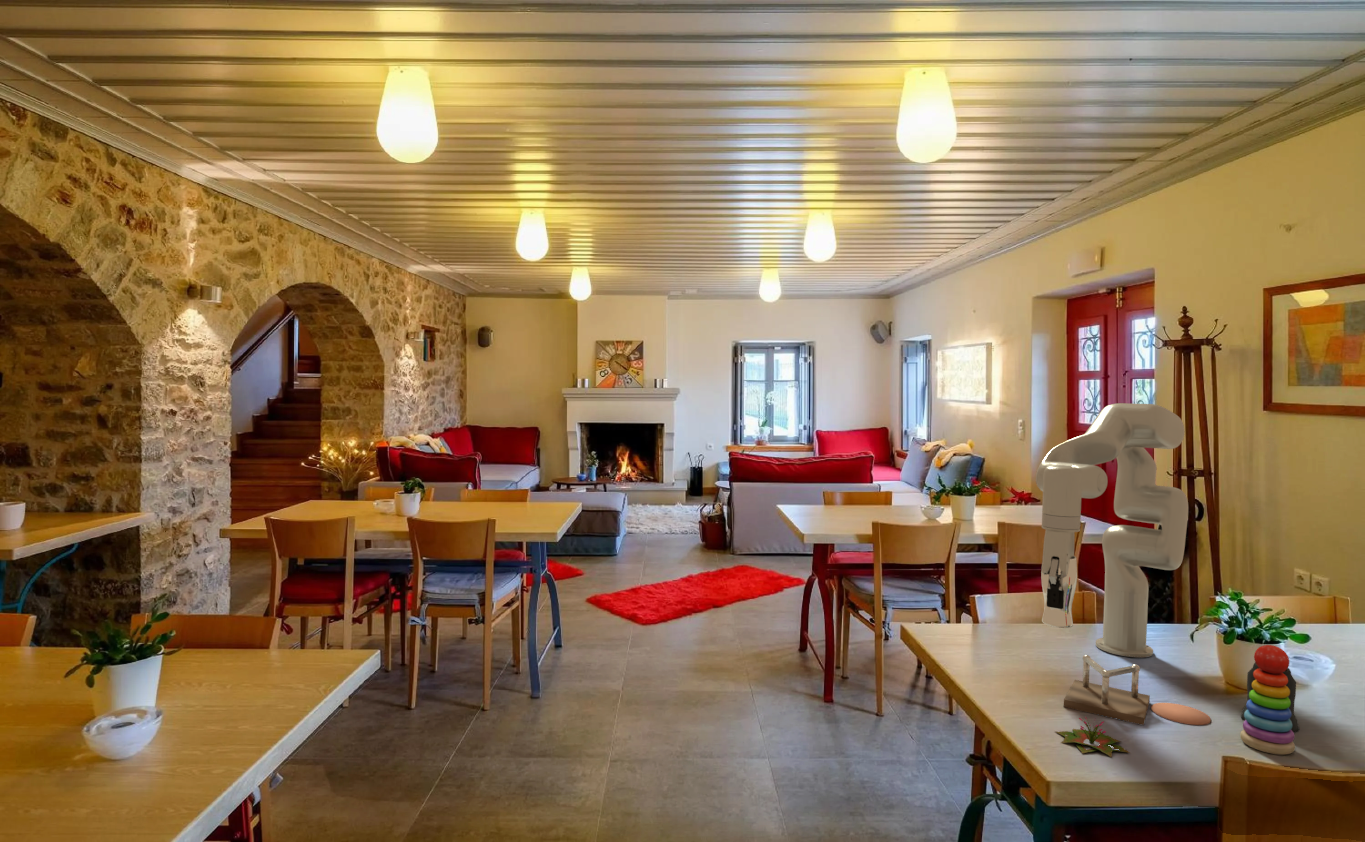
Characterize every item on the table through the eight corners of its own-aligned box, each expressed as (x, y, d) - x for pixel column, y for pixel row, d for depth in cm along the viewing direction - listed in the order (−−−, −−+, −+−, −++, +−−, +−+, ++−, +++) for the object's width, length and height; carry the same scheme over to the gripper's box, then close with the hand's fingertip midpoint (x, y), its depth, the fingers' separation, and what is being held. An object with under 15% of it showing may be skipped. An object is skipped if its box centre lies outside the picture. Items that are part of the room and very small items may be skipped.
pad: (1153, 700, 158) (1153, 698, 158) (1211, 712, 152) (1211, 711, 152) (1149, 715, 150) (1149, 714, 150) (1210, 729, 144) (1210, 728, 144)
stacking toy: (1228, 736, 141) (1233, 638, 141) (1268, 736, 142) (1273, 638, 141) (1265, 757, 133) (1269, 652, 133) (1306, 756, 134) (1311, 652, 133)
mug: (1299, 737, 142) (1302, 678, 141) (1239, 723, 147) (1241, 667, 147) (1299, 717, 151) (1301, 662, 150) (1242, 705, 157) (1245, 651, 156)
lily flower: (1078, 761, 131) (1079, 735, 131) (1042, 731, 143) (1043, 707, 143) (1144, 761, 132) (1145, 735, 132) (1103, 731, 144) (1103, 707, 144)
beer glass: (1079, 629, 160) (1082, 560, 160) (1044, 627, 162) (1046, 558, 161) (1069, 620, 167) (1072, 553, 166) (1036, 617, 168) (1038, 551, 168)
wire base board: (1074, 686, 165) (1074, 679, 165) (1149, 702, 157) (1149, 695, 157) (1063, 706, 154) (1063, 699, 153) (1143, 725, 145) (1143, 717, 145)
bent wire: (1082, 684, 162) (1083, 653, 162) (1139, 696, 156) (1140, 664, 156) (1074, 698, 154) (1076, 665, 154) (1134, 711, 148) (1136, 677, 148)
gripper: (1050, 516, 173) (1047, 593, 173) (1033, 525, 159) (1030, 609, 159) (1086, 519, 168) (1083, 598, 169) (1073, 530, 154) (1070, 616, 155)
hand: (1058, 603), depth 164 cm, fingers closed on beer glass, 6 cm apart
